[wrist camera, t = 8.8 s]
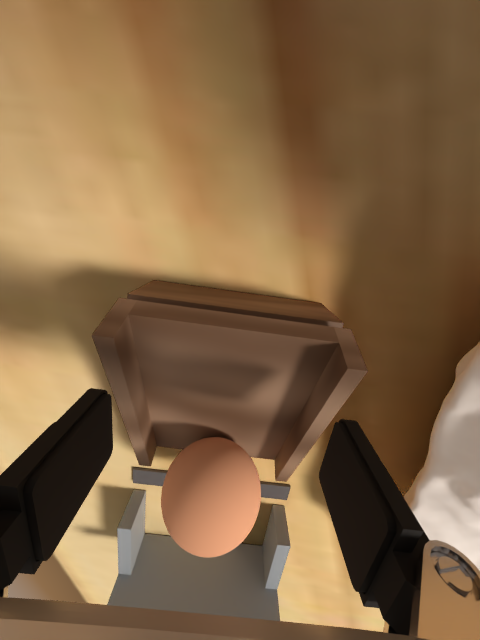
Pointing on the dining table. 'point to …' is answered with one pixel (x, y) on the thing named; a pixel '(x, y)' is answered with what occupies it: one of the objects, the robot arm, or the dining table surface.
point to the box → (199, 565)
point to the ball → (211, 497)
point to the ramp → (226, 370)
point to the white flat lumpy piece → (453, 466)
